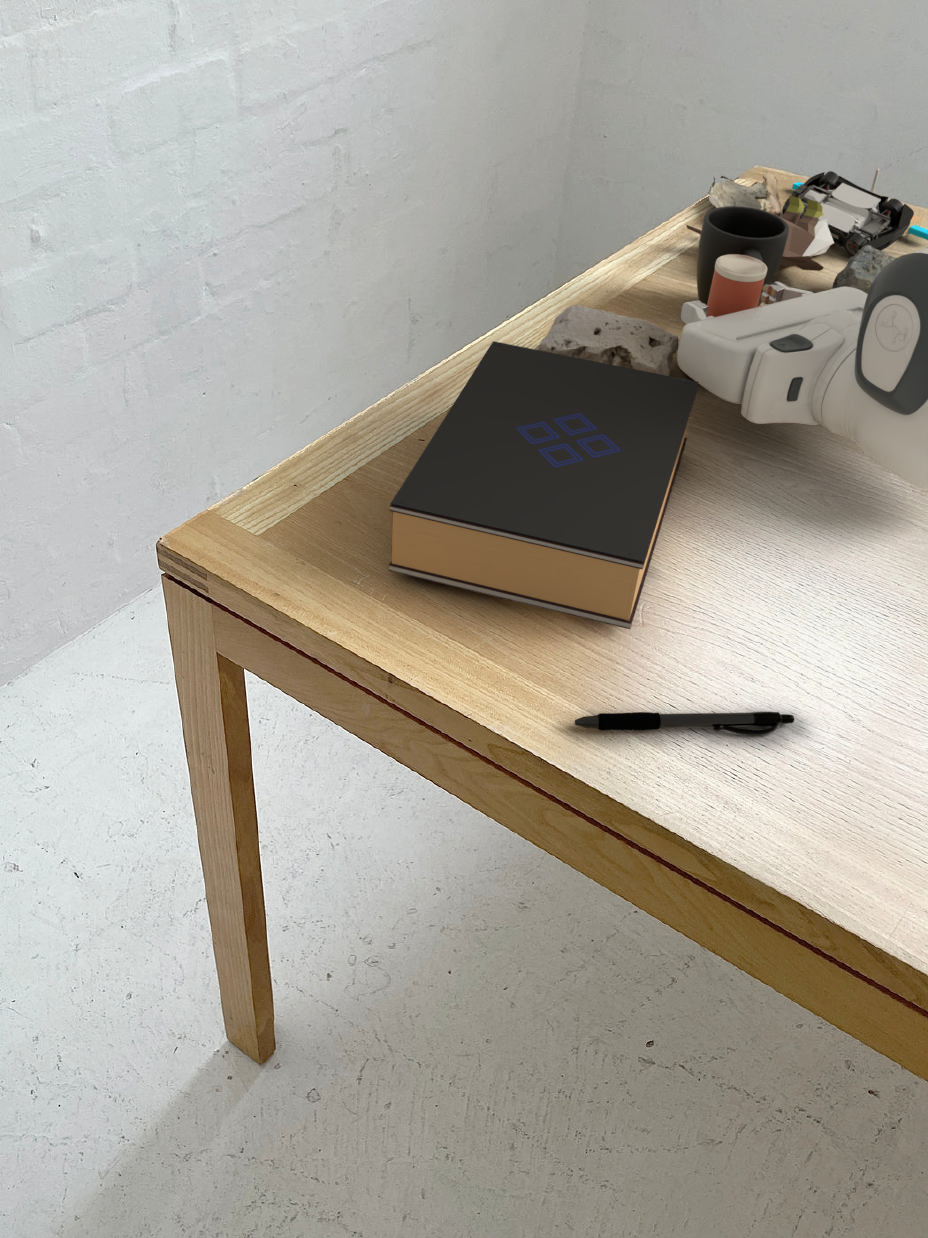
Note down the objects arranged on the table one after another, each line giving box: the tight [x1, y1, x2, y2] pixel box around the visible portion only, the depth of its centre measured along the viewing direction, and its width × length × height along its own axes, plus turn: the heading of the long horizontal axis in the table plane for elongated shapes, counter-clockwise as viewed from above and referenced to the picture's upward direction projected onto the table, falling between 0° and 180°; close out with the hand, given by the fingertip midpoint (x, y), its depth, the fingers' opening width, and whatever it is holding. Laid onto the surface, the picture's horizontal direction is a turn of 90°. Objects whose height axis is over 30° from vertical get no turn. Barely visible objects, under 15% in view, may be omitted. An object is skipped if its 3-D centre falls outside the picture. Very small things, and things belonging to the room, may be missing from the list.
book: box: [388, 341, 700, 630], centre depth 85 cm, size 17×25×7 cm
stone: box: [534, 304, 680, 376], centre depth 103 cm, size 13×6×10 cm
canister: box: [706, 254, 767, 318], centre depth 102 cm, size 4×4×10 cm
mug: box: [696, 206, 789, 307], centre depth 111 cm, size 8×12×10 cm
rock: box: [831, 245, 896, 294], centre depth 118 cm, size 12×10×5 cm
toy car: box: [781, 170, 915, 257], centre depth 131 cm, size 7×15×4 cm, turn 38°
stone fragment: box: [695, 170, 782, 240], centre depth 135 cm, size 19×8×5 cm
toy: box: [685, 195, 835, 272], centre depth 122 cm, size 16×16×7 cm
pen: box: [574, 711, 795, 737], centre depth 70 cm, size 14×2×1 cm, turn 95°
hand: (728, 299), depth 102 cm, fingers open, 8 cm apart
